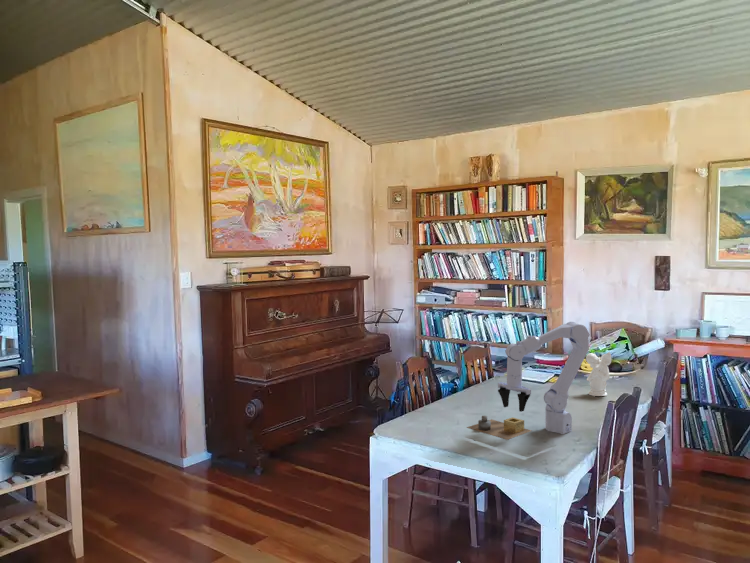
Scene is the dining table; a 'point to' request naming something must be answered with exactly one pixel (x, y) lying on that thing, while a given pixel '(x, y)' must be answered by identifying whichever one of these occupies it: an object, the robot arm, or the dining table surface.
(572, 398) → the dining table surface
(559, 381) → the robot arm
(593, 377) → the cherub figurine
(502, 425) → the peg board
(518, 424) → the brass collar
